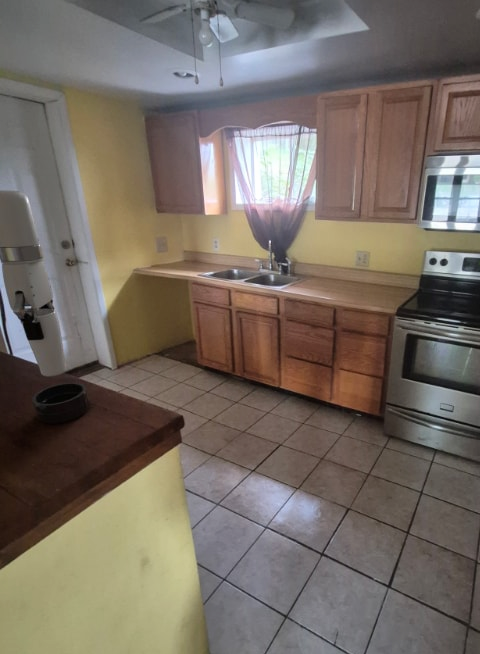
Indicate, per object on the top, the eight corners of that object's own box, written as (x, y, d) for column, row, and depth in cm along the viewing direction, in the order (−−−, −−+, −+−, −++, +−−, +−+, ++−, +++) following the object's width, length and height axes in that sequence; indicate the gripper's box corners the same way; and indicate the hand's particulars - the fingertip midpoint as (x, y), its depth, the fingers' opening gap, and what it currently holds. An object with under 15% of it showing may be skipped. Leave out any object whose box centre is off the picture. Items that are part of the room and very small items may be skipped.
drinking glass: (41, 368, 91) (24, 309, 85) (73, 365, 93) (58, 307, 87) (34, 381, 85) (15, 318, 79) (68, 376, 87) (52, 315, 81)
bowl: (30, 427, 88) (23, 407, 86) (49, 402, 98) (44, 384, 96) (81, 422, 90) (76, 402, 88) (95, 399, 100) (91, 381, 98)
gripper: (21, 248, 85) (42, 322, 92) (-24, 261, 69) (5, 349, 76) (57, 248, 86) (75, 321, 93) (21, 260, 71) (45, 347, 78)
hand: (43, 333), depth 85 cm, fingers closed on drinking glass, 6 cm apart
